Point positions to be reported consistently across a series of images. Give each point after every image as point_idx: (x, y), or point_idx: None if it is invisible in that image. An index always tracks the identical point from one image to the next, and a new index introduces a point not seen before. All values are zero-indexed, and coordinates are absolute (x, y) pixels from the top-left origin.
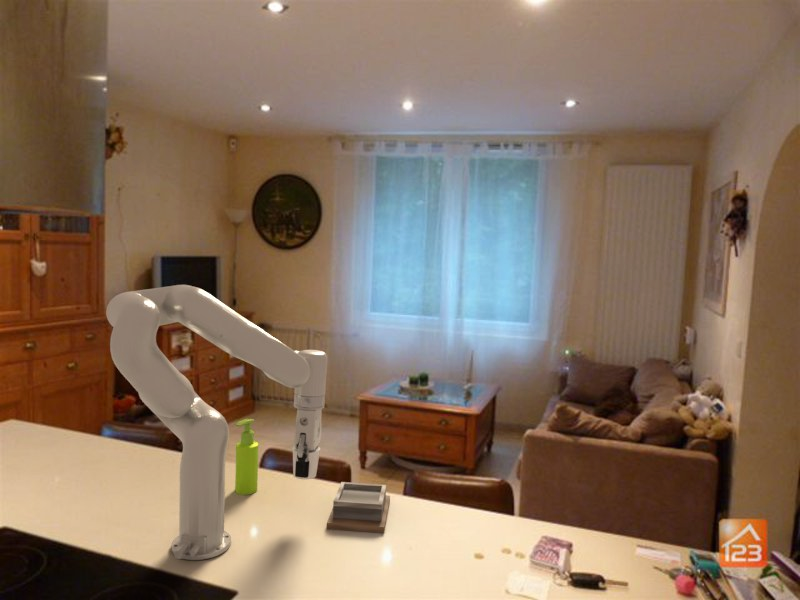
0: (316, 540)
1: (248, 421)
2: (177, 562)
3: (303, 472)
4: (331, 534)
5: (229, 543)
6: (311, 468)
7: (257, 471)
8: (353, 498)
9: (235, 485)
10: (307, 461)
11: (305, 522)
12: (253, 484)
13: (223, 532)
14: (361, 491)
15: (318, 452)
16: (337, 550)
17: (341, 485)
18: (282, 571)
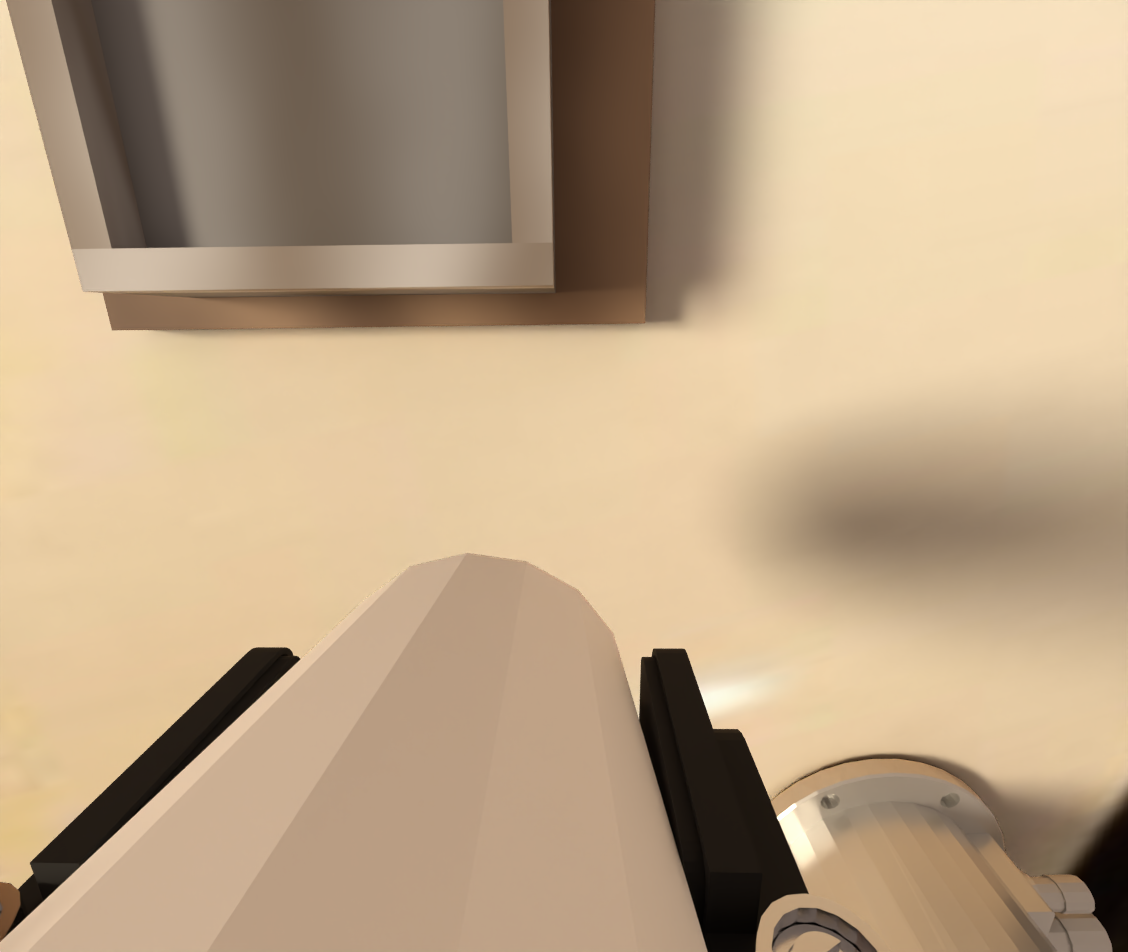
0: (790, 356)
1: None
2: None
3: (748, 759)
4: (706, 273)
5: (892, 772)
6: (606, 689)
7: None
8: (351, 110)
9: None
10: (797, 915)
11: (569, 473)
12: None
13: (901, 844)
14: (159, 43)
15: (408, 909)
16: (917, 188)
17: (170, 272)
18: (1124, 465)
